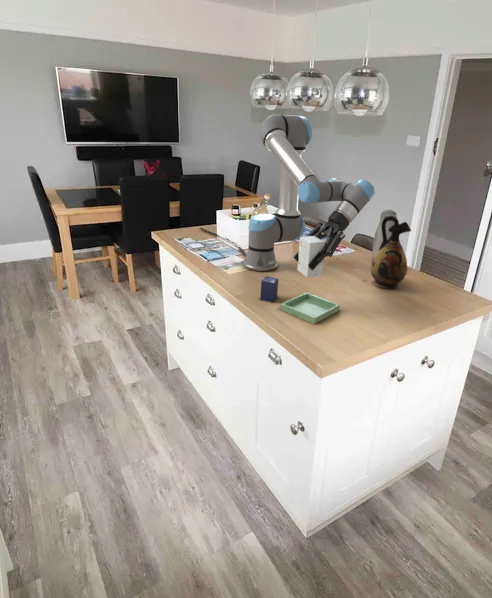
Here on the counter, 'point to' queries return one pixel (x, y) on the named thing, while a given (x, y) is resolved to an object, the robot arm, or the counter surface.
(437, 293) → the counter surface
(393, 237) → the ceramic jug
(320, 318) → the tray
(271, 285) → the navy block
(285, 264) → the counter surface
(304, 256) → the small box
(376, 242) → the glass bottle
